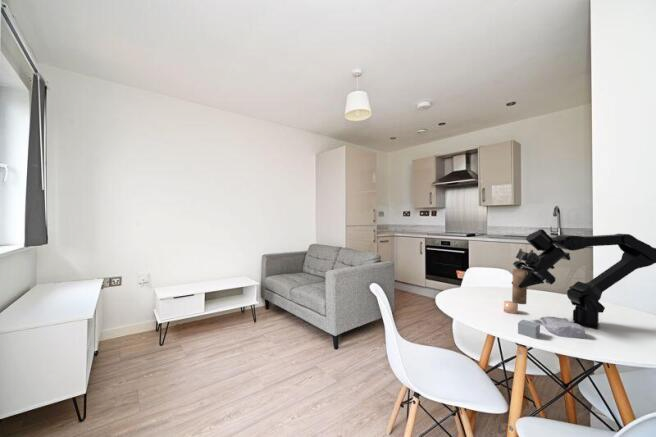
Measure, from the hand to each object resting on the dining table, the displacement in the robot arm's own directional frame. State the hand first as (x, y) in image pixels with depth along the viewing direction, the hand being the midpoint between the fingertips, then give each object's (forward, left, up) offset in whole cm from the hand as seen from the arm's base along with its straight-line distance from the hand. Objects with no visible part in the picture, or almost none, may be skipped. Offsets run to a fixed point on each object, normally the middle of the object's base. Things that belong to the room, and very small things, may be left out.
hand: (515, 285), depth 106 cm
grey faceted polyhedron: (-7, +12, -14) cm, 20 cm away
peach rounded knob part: (+4, -9, -14) cm, 17 cm away
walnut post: (-1, -1, -7) cm, 7 cm away
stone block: (-13, 0, -14) cm, 19 cm away
